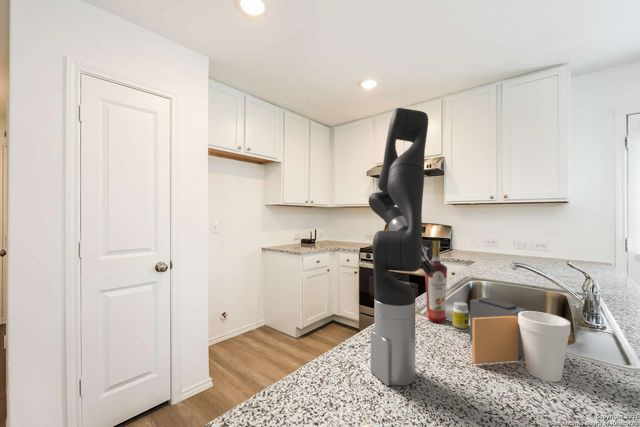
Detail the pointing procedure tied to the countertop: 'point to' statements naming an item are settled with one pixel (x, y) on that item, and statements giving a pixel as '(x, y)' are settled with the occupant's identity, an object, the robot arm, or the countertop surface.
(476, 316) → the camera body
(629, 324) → the countertop surface
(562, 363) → the foam cup
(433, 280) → the liquor
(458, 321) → the supplement bottle
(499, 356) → the side door
